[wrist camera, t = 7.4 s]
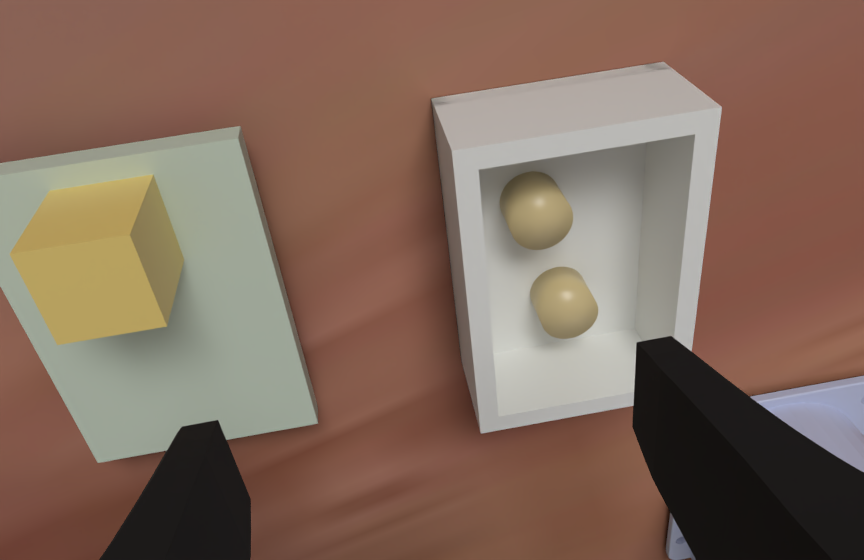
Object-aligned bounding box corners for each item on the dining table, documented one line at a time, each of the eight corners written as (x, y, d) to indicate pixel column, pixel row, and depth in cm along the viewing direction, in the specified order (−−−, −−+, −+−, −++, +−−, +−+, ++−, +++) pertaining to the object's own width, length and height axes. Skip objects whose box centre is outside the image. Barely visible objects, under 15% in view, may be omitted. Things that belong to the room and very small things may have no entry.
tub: (644, 328, 26) (686, 396, 23) (461, 360, 26) (480, 433, 23) (663, 61, 20) (721, 107, 18) (431, 98, 20) (451, 150, 17)
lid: (317, 386, 26) (319, 496, 22) (110, 422, 25) (73, 541, 21) (243, 111, 20) (227, 194, 16) (-29, 153, 19) (-114, 248, 15)
